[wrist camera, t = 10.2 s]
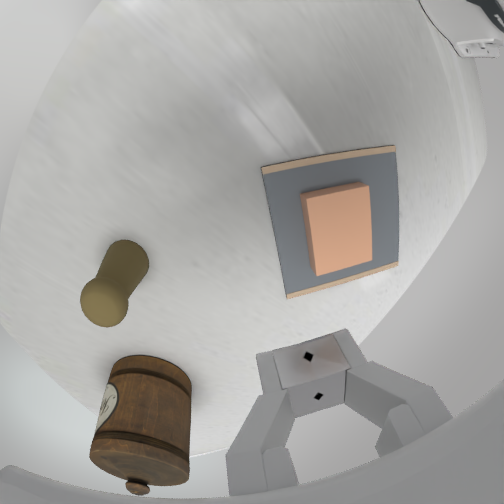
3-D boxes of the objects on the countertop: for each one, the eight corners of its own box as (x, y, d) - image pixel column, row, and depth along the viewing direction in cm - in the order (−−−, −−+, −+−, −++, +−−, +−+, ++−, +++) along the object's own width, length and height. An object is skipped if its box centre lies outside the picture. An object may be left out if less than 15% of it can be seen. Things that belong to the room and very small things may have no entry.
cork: (144, 237, 32) (117, 283, 22) (153, 280, 34) (134, 336, 25) (101, 242, 31) (63, 287, 21) (112, 283, 34) (84, 336, 24)
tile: (299, 193, 32) (359, 181, 32) (310, 267, 36) (363, 252, 36) (306, 198, 30) (368, 185, 30) (316, 276, 34) (372, 260, 34)
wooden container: (102, 350, 39) (66, 465, 19) (188, 356, 41) (185, 486, 21) (122, 401, 45) (106, 496, 25) (194, 406, 47) (197, 508, 27)
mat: (393, 145, 31) (395, 145, 30) (396, 264, 38) (398, 265, 38) (260, 167, 30) (261, 167, 30) (286, 297, 38) (287, 299, 38)
